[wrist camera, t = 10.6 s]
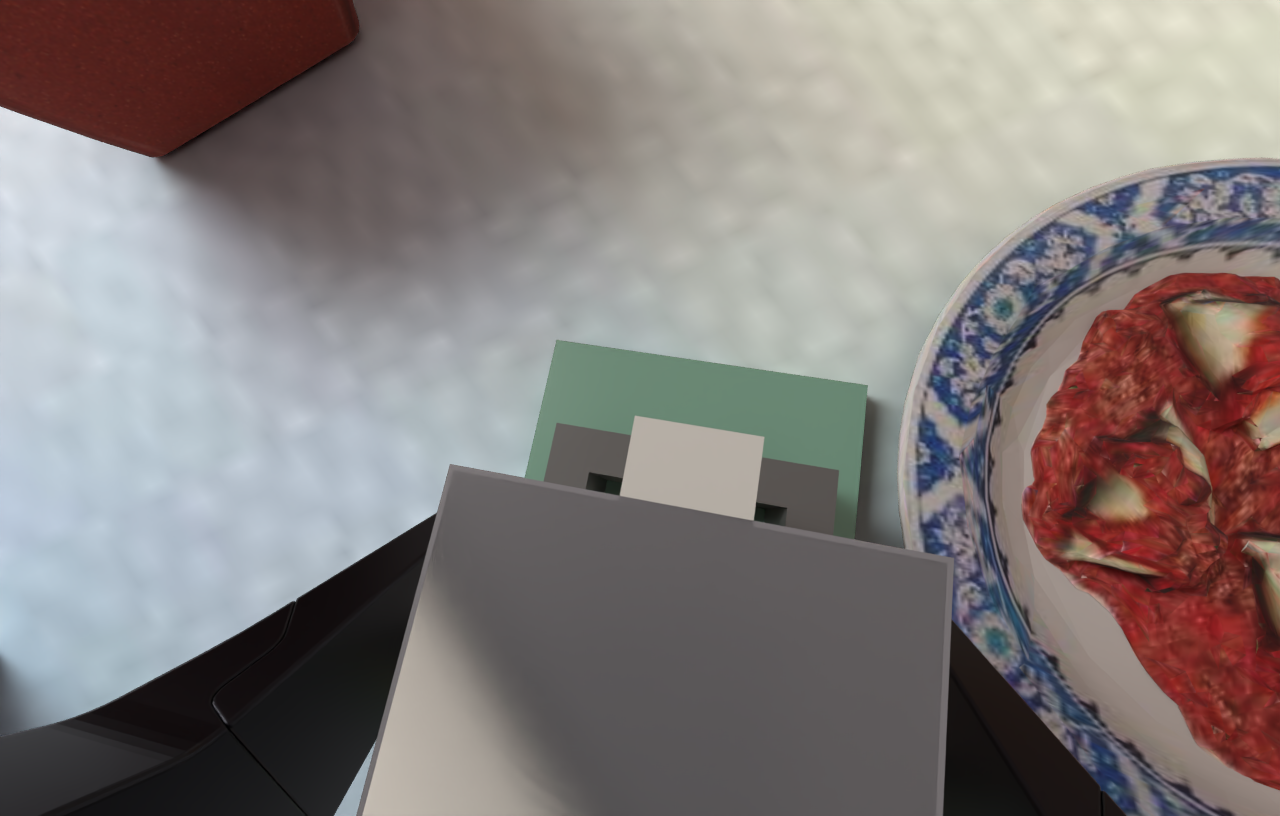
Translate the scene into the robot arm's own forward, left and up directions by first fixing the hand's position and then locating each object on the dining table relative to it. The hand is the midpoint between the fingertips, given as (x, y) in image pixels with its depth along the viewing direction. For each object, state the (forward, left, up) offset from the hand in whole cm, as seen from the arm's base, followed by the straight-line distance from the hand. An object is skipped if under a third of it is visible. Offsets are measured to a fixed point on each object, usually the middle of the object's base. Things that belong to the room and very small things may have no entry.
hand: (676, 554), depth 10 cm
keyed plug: (-1, +1, -7) cm, 7 cm away
